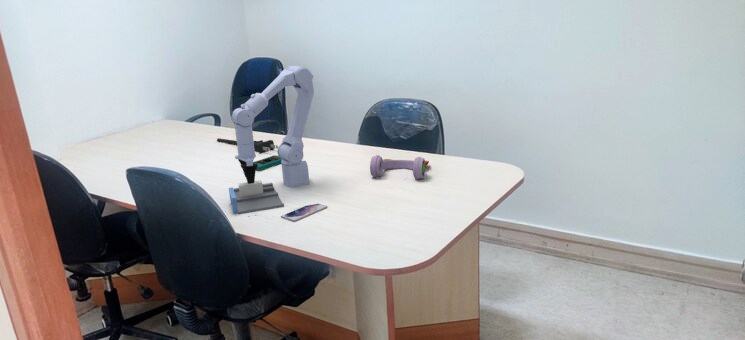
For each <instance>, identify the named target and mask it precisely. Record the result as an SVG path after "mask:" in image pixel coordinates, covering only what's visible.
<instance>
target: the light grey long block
mask: <svg viewBox="0 0 745 340" xmlns="http://www.w3.org/2000/svg"><path fill="white" fill-rule="evenodd" d="M262 184H263V181H262V180H261V179H259V180H255V181H254V183H251V184H248V182H241V183H238V188H239V192H240V196H241V197H243V196H249V195H256V194H262V193H263V192H270V191H274V189H275V187H274V186H273V187H268V188H263V185H262Z"/></svg>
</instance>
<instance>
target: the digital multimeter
mask: <svg viewBox="0 0 745 340" xmlns="http://www.w3.org/2000/svg"><path fill="white" fill-rule="evenodd" d="M256 163H257V164H258V166H257V169H256V172H262V171H265V170H268V169H270V168H274V167H276V166H279V165H282V163H281V158H280V157H279V156H278V155H276V154H275V155H271V156H267V157H265V158H262V159H259V160H255V161H253V164H256Z"/></svg>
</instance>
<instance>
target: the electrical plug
mask: <svg viewBox="0 0 745 340" xmlns="http://www.w3.org/2000/svg"><path fill="white" fill-rule="evenodd" d="M253 141H254V149H255V152H258V153H259V154H260V155H261V154H264V153H266V152H270V151H274V150H275V149H278V147H279V145H277V144H275V141H274V140H272V139H269V140H265V141H264V140H253ZM216 142H219V143H224V144H230V145H236V146H237V140H233V139H226V138H225V139H224V138H221V137H220V138H219V137H218V138H217V139H216Z"/></svg>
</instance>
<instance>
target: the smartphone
mask: <svg viewBox="0 0 745 340" xmlns="http://www.w3.org/2000/svg"><path fill="white" fill-rule="evenodd" d="M328 208H329V207H328V206H327V205H324V204H321V203H316V204H315V203H314V204H309V205H304V206H302V207H299V208H297V209H294V210H293V211H289V212H287V213H285V214H283V215H281V216H280V218H281V219H283V220H287V221H289V222H292V223H296V222H300V221H301V220H303V219H305V218H308V217H309V216H312V215H314V214H316V213H319V212H322V211H324V210H326V209H328Z"/></svg>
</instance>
